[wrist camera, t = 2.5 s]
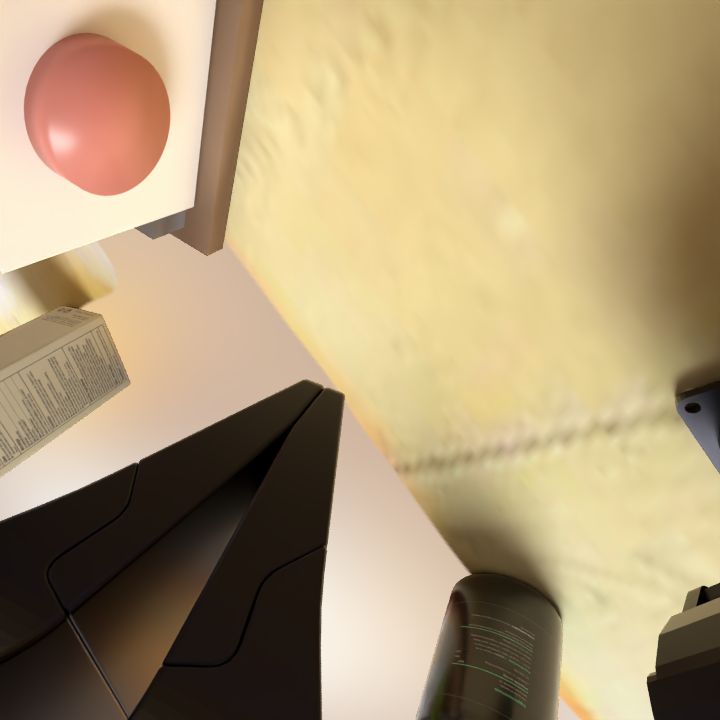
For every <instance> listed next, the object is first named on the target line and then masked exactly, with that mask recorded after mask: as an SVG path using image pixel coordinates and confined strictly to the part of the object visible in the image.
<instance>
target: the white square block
mask: <svg viewBox="0 0 720 720" xmlns="http://www.w3.org/2000/svg"><path fill="white" fill-rule="evenodd" d="M215 8H216V0H0V273H1V274H4V273H7V272H10V271H13V270H16V269H18V268H21V267H24V266H27V265H30V264H33V263H35V262H38V261H41V260H44V259H47V258H50V257H53V256H55V255H58V254H61V253H64V252H67V251H70V250H72V249H75V248H78V247H81V246H84V245H87V244H90V243H92V242H95V241H98V240H101V239H104V238H107V237H109V236H112V235H115V234H118V233H121V232H123V231H126V230H129V229H132V228H135V227H138V226H141V225H144V224H146V223H149V222H152V221H155V220H158V219H161V218H164V217H166V216H169V215H172V214H175V213H178V212H181V211H183V210H186V209H189V208H192V207H194V200H195V191H196V182H197V173H198V164H199V155H200V145H201V136H202V127H203V118H204V109H205V99H206V90H207V81H208V72H209V63H210V54H211V44H212V35H213V26H214V17H215Z"/></svg>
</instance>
